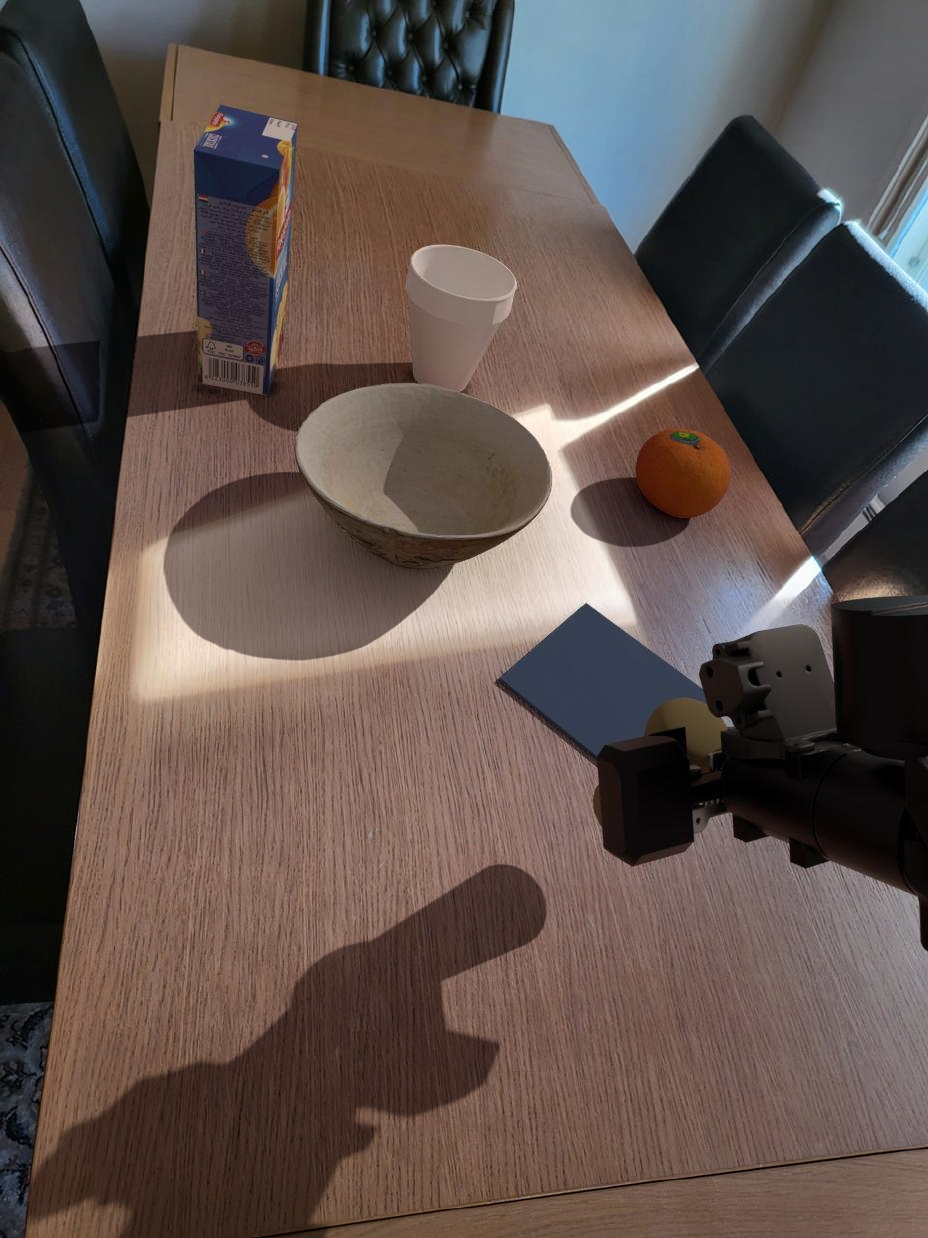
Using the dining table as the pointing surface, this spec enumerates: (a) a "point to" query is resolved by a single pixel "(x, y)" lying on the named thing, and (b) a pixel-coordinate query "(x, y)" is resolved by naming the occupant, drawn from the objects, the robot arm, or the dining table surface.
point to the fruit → (682, 472)
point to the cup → (454, 311)
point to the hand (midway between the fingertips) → (660, 743)
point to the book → (596, 681)
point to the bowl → (422, 471)
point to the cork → (698, 732)
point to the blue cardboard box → (242, 246)
